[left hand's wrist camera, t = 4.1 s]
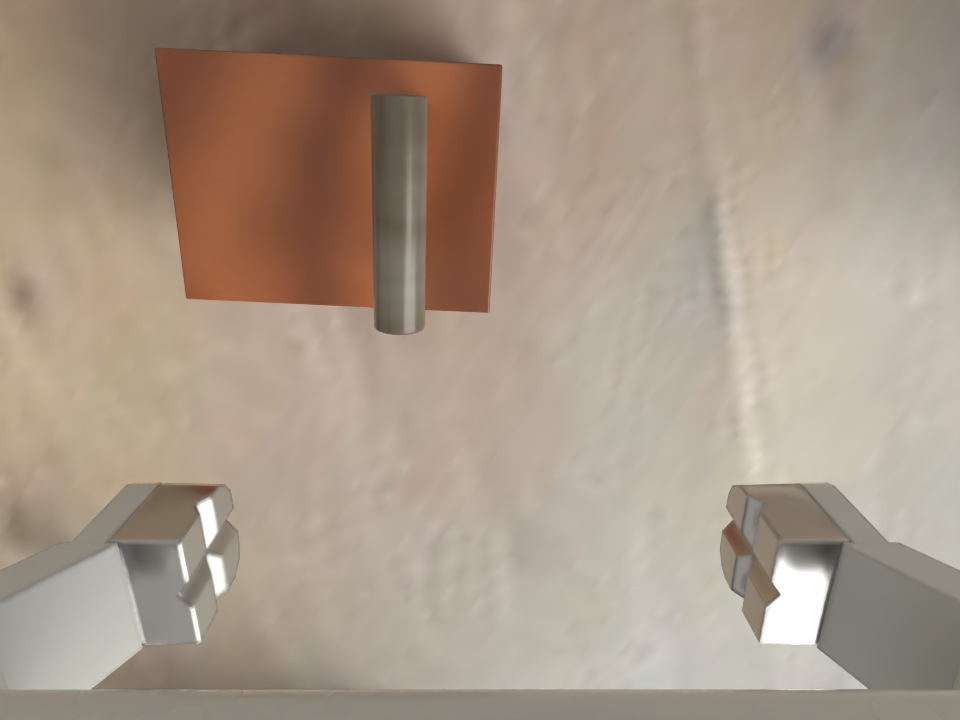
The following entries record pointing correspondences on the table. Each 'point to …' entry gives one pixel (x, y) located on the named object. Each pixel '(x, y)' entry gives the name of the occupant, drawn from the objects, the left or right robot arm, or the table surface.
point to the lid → (334, 180)
